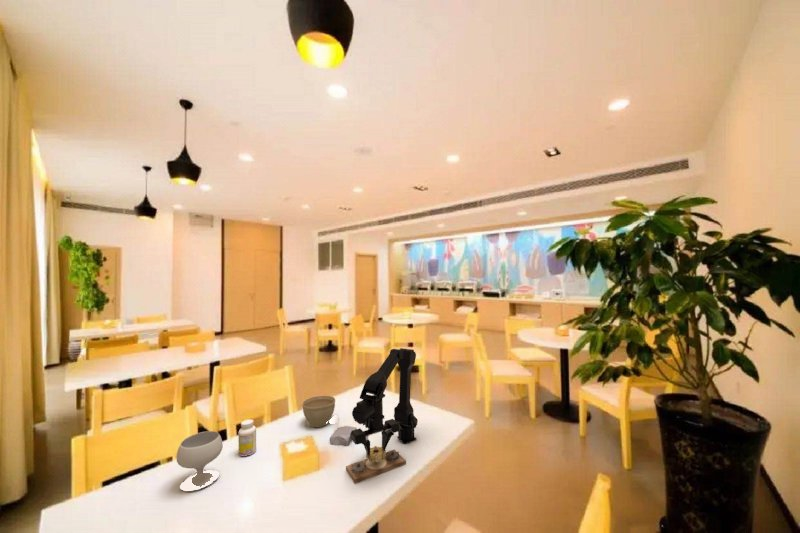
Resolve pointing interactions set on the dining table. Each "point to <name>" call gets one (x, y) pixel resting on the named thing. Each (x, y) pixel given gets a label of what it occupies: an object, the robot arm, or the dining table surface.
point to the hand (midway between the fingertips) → (376, 453)
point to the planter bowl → (318, 410)
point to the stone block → (342, 436)
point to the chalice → (199, 454)
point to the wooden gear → (376, 454)
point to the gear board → (374, 466)
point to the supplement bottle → (247, 438)
